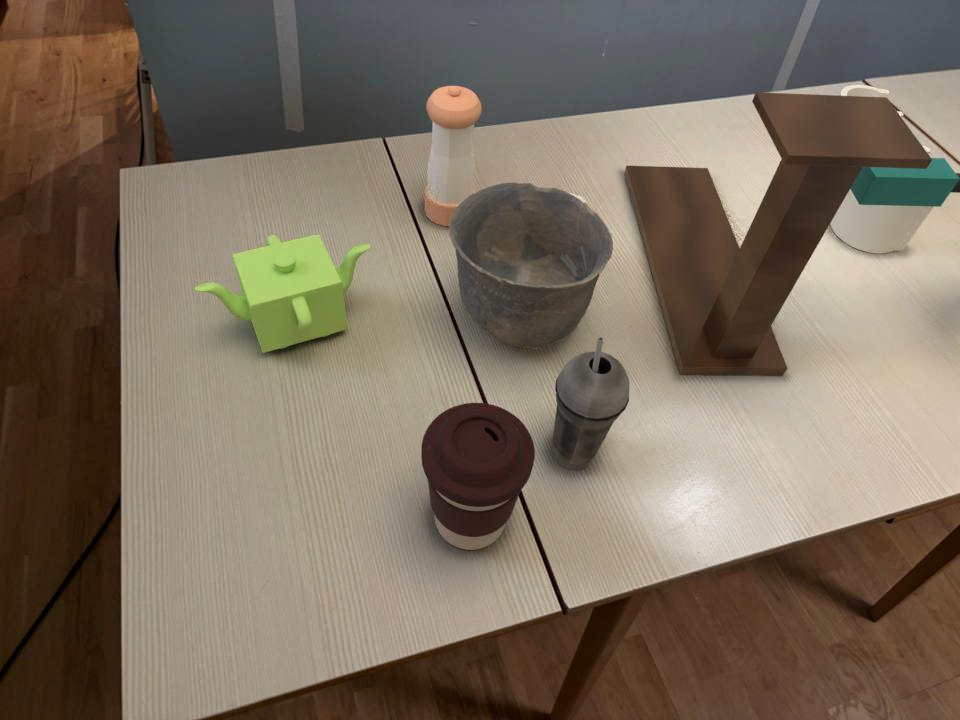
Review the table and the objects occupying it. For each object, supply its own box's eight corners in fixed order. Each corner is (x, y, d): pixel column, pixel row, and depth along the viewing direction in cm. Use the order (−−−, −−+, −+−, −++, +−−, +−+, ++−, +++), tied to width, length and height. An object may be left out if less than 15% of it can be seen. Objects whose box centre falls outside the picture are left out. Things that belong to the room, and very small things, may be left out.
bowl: (466, 388, 82) (473, 299, 71) (431, 283, 93) (433, 190, 81) (606, 363, 86) (636, 274, 75) (558, 264, 97) (578, 173, 85)
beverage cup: (619, 459, 78) (668, 341, 62) (569, 493, 75) (609, 378, 59) (574, 414, 81) (611, 291, 66) (526, 445, 78) (552, 324, 63)
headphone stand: (704, 175, 112) (785, -40, 87) (785, 382, 86) (933, 159, 61) (624, 173, 111) (682, -46, 86) (681, 381, 85) (788, 154, 60)
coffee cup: (423, 568, 69) (424, 493, 57) (419, 477, 75) (418, 393, 63) (524, 561, 70) (545, 486, 58) (512, 472, 76) (528, 389, 64)
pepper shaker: (450, 188, 106) (455, 66, 91) (485, 212, 103) (496, 90, 88) (414, 208, 102) (413, 85, 87) (448, 233, 99) (454, 110, 84)
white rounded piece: (796, 149, 118) (828, 82, 109) (853, 153, 119) (890, 86, 109) (841, 251, 103) (884, 182, 93) (907, 255, 103) (956, 187, 94)
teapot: (375, 299, 90) (371, 236, 82) (332, 378, 82) (322, 316, 74) (265, 270, 92) (250, 205, 84) (213, 344, 84) (190, 281, 76)
